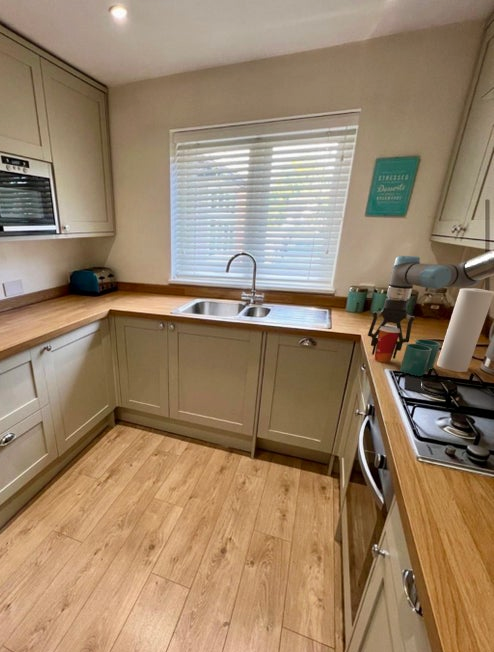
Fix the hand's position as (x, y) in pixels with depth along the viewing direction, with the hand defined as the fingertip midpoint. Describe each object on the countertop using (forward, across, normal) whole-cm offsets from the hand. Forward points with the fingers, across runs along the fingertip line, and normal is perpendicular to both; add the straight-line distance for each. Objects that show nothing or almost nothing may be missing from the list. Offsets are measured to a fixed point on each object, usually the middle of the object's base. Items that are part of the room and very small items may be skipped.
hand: (383, 355), depth 132 cm
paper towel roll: (+2, +23, +8) cm, 24 cm away
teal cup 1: (+2, +10, -8) cm, 13 cm away
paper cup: (+2, 0, 0) cm, 2 cm away
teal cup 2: (+2, +13, +1) cm, 13 cm away
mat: (+2, +14, -20) cm, 24 cm away
